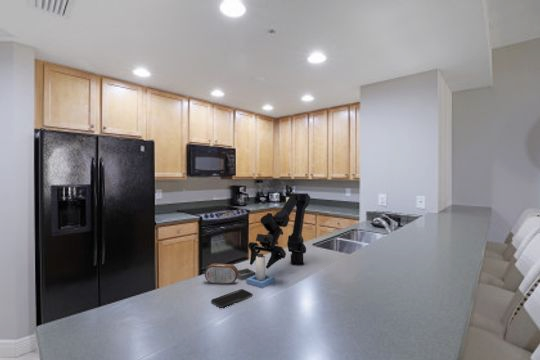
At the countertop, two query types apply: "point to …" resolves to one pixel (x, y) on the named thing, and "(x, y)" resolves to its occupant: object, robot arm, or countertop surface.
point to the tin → (221, 273)
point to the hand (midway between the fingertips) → (258, 266)
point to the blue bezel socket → (260, 284)
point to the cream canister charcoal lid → (260, 267)
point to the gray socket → (245, 276)
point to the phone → (231, 298)
